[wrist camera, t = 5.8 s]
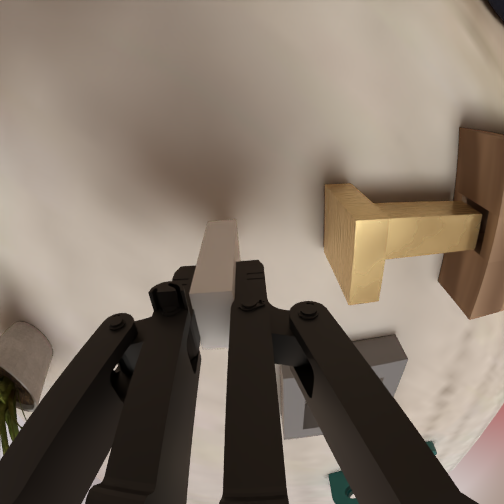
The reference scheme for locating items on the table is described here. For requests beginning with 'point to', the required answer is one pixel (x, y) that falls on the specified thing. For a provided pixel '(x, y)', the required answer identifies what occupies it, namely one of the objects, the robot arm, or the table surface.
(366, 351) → the grey square frame
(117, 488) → the robot arm
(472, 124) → the table surface
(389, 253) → the yellow t-shaped block
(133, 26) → the table surface
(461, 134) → the socket block
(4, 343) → the house plant
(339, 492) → the bracket
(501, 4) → the canister
